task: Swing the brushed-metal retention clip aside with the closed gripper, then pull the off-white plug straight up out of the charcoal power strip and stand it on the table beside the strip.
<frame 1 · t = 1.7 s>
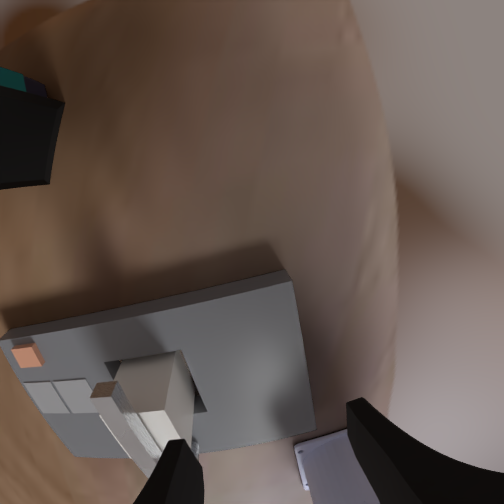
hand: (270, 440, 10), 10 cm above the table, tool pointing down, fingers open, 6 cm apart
plug: (160, 371, 20), resting in power strip
retention clip: (156, 435, 16), point 5 cm above the table, hinge at 0.0°
power strip: (153, 384, 20), on the table
speaker: (21, 130, 15), on the table
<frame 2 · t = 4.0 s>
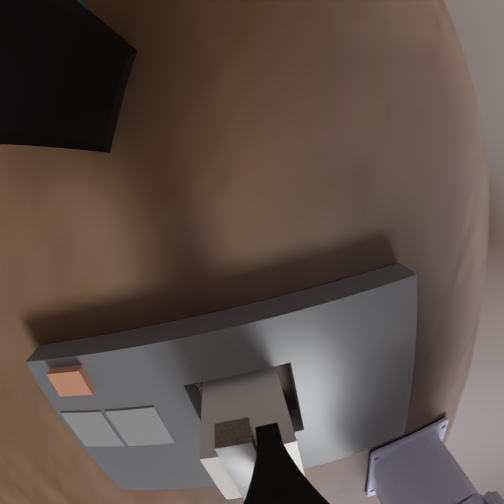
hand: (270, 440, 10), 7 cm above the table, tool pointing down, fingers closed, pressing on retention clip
plug: (245, 388, 17), resting in power strip
retention clip: (260, 467, 13), point 5 cm above the table, hinge at 0.1°, touching gripper
power strip: (233, 403, 17), on the table
speaker: (68, 84, 12), on the table
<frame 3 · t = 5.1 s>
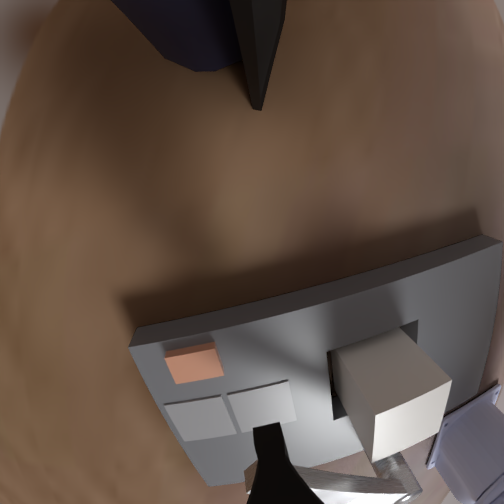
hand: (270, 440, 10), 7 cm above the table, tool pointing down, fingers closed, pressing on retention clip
plug: (362, 355, 17), resting in power strip
retention clip: (339, 459, 13), point 5 cm above the table, hinge at 44.1°, touching gripper
power strip: (348, 372, 18), on the table
speaker: (205, 37, 12), on the table
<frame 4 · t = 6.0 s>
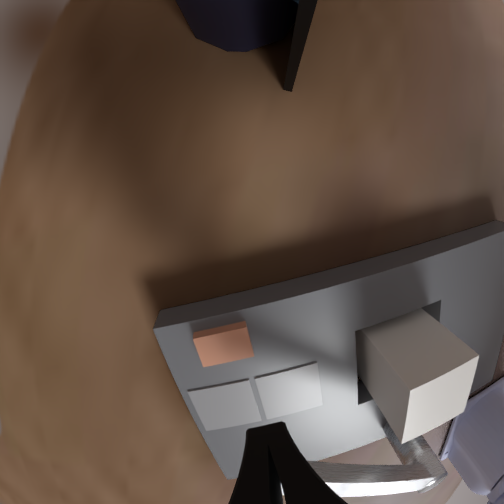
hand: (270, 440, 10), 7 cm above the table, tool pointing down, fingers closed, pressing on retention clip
plug: (385, 338, 17), resting in power strip
retention clip: (361, 450, 13), point 5 cm above the table, hinge at 51.3°, touching gripper
power strip: (371, 356, 17), on the table
speaker: (235, 20, 12), on the table
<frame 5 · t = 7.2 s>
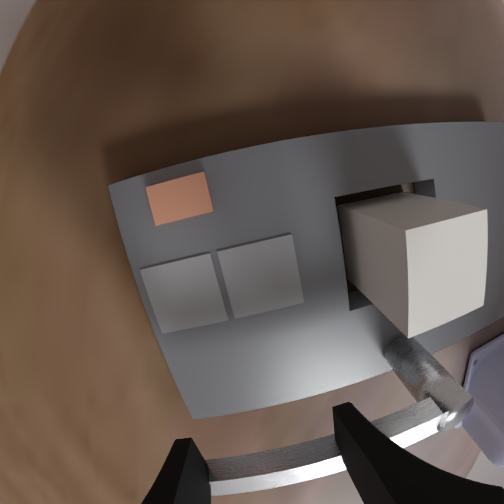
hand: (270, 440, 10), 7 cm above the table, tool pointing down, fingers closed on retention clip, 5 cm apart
plug: (376, 235, 16), resting in power strip
retention clip: (334, 413, 12), point 5 cm above the table, hinge at 90.2°, touching gripper
power strip: (362, 257, 16), on the table
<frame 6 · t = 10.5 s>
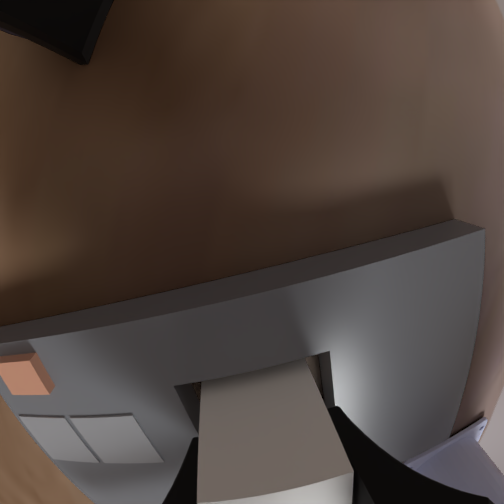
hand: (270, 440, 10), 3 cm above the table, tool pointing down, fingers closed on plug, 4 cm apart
plug: (260, 390, 13), resting in power strip, touching gripper
power strip: (243, 410, 13), on the table
speaker: (50, 2, 7), on the table
when the fingers open (4 cm above the table, at t = 14.2 s): plug drops 2 cm, on the table.
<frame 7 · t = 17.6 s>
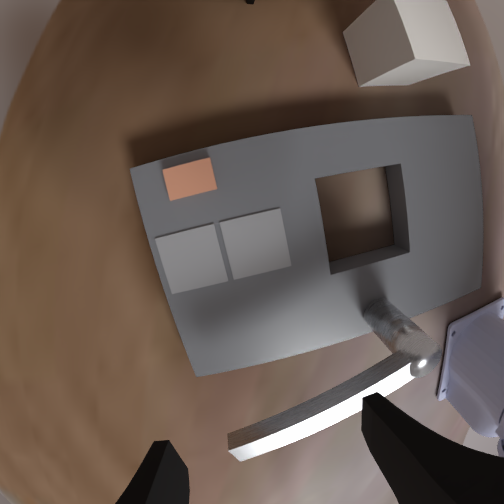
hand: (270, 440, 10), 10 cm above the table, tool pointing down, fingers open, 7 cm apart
plug: (376, 58, 16), on the table
retention clip: (325, 377, 15), point 5 cm above the table, hinge at 104.9°
power strip: (342, 231, 19), on the table
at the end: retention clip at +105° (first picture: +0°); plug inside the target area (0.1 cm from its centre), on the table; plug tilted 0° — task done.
